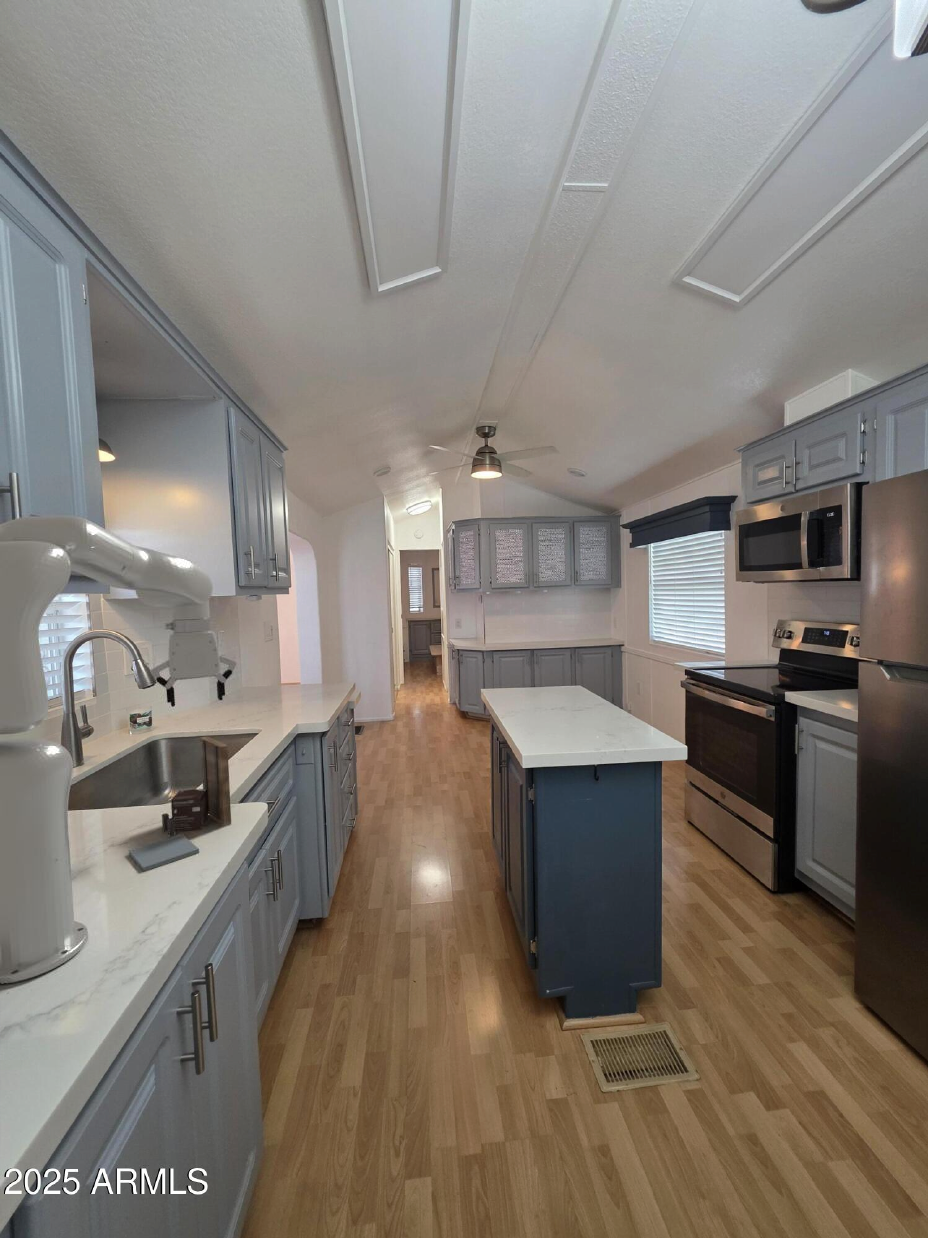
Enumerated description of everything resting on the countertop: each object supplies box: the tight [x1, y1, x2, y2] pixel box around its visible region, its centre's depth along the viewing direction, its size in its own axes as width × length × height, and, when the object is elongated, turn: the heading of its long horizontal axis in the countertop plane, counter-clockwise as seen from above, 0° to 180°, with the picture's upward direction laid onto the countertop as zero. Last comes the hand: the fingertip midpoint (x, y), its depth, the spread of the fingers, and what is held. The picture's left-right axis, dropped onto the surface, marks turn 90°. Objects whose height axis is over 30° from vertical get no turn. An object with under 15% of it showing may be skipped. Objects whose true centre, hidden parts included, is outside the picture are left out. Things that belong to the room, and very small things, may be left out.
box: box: [170, 788, 209, 833], centre depth 123 cm, size 6×6×7 cm
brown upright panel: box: [161, 736, 232, 838], centre depth 123 cm, size 12×12×18 cm
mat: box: [128, 833, 200, 872], centre depth 110 cm, size 10×10×1 cm
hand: (197, 702), depth 123 cm, fingers open, 9 cm apart
